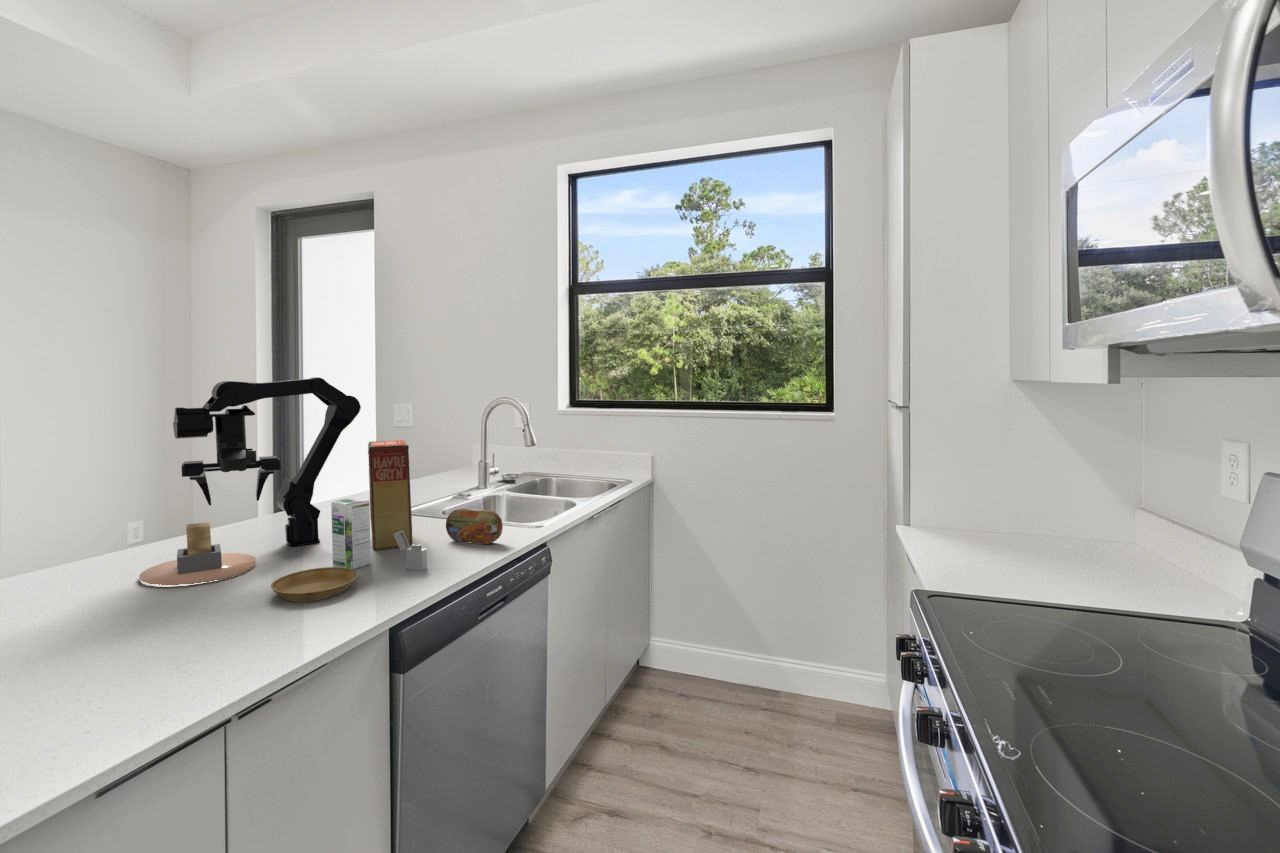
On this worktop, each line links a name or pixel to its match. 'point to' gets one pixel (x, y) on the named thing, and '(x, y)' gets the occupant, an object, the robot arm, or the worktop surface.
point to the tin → (474, 526)
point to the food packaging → (389, 492)
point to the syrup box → (351, 533)
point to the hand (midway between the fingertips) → (234, 502)
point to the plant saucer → (314, 583)
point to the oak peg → (198, 538)
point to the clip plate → (198, 567)
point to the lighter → (412, 552)
